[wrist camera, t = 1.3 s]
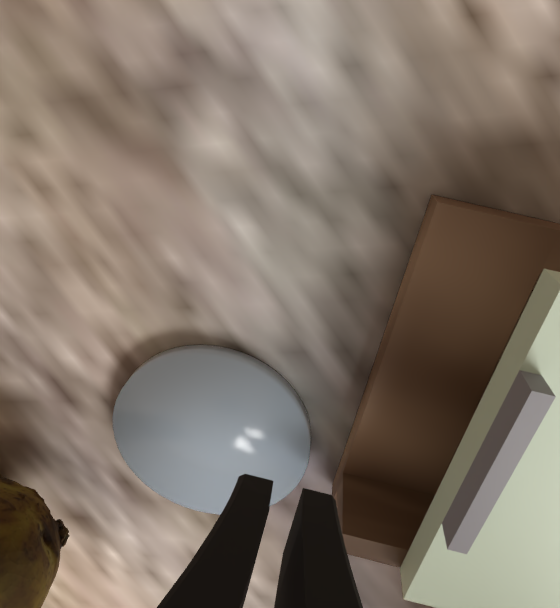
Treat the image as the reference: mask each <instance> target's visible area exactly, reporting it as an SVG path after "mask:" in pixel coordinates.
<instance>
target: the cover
mask: <svg viewBox="0 0 560 608" xmlns="http://www.w3.org/2000/svg"><path fill="white" fill-rule="evenodd" d="M400 574H401V584H402V593H403V600H407V601H411V602H415V603H419V604H423V605H427V606H431V607H435V608H560V272H557V271H553V270H548V269H543V271H542V273H541V275H540V278H539V280H538V282H537V284H536V286H535V288H534V290H533V292H532V294H531V296H530V298H529V300H528V303H527V305H526V307H525V309H524V311H523V313H522V315H521V317H520V319H519V321H518V323H517V325H516V328H515V330H514V332H513V334H512V336H511V338H510V340H509V342H508V344H507V346H506V348H505V350H504V353H503V355H502V357H501V359H500V361H499V363H498V365H497V367H496V369H495V371H494V373H493V376H492V378H491V380H490V382H489V384H488V386H487V388H486V390H485V392H484V394H483V396H482V398H481V401H480V403H479V405H478V407H477V409H476V411H475V413H474V415H473V417H472V419H471V421H470V423H469V426H468V428H467V430H466V432H465V434H464V436H463V438H462V440H461V442H460V444H459V446H458V448H457V451H456V453H455V455H454V457H453V459H452V461H451V463H450V465H449V467H448V469H447V471H446V473H445V476H444V478H443V480H442V482H441V484H440V486H439V488H438V490H437V492H436V494H435V496H434V499H433V501H432V503H431V505H430V507H429V509H428V511H427V513H426V515H425V517H424V519H423V521H422V524H421V526H420V528H419V530H418V532H417V534H416V536H415V538H414V540H413V542H412V544H411V546H410V549H409V551H408V553H407V555H406V557H405V559H404V561H403V563H402V565H401V567H400Z"/></svg>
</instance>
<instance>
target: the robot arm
mask: <svg viewBox="0 0 560 608" xmlns="http://www.w3.org/2000/svg"><path fill="white" fill-rule="evenodd" d="M272 487H273V481H272V480H269V479H265V478H261V477H257V476H253V475H249V474H243V475H241V476H239V477H238V480H237V483H236V485H235V488H234V490H233V492H232V494H231V496H230V498H229V500H228V502H227V504H226V506H225V508H224V510H223V512H222V513H221V515H220V517H219V518H218V520H217V522H216V523H215V525H214V527H213V529H212V530H211V532H210V533H209V535H208V536H207V538H206V539H205V541H204V542H203V544H202V545H201V547H200V548H199V550H198V552H197V553H196V555H195V556H194V558H193V559H192V561H191V562H190V563H189V565H188V566H187V568H186V569H185V570H184V572H183V573H182V575H181V576H180V577H179V579H178V580H177V581H176V583H175V584H174V585H173V587H172V588H171V589H170V591H169V592H168V593H167V595H166V596H165V597H164V599H163V600H162V601H161V603H160V604H159V605H158V607H157V608H243V604H244V601H245V597H246V594H247V590H248V586H249V583H250V579H251V575H252V572H253V568H254V564H255V560H256V557H257V553H258V549H259V546H260V542H261V538H262V534H263V531H264V527H265V523H266V520H267V516H268V512H269V506H270V500H271V494H272ZM274 608H363V606H362V603H361V600H360V597H359V593H358V590H357V587H356V584H355V581H354V577H353V574H352V570H351V567H350V563H349V559H348V555H347V551H346V548H345V544H344V540H343V535H342V531H341V526H340V522H339V517H338V511H337V506H336V500H335V499H334V498H333V496H332V495H328V494H324V493H320V492H316V491H312V490H308V489H304V488H303V490H302V493H301V497H300V500H299V503H298V507H297V510H296V513H295V516H294V520H293V523H292V526H291V529H290V533H289V536H288V539H287V543H286V546H285V549H284V552H283V557H282V563H281V569H280V575H279V581H278V587H277V594H276V600H275V606H274Z"/></svg>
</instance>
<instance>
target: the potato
mask: <svg viewBox="0 0 560 608" xmlns="http://www.w3.org/2000/svg"><path fill="white" fill-rule="evenodd" d="M68 533H69V531H68V529H67V528H66V527H65V526H64V524H63V521H61V520H60V519H58V520H57V521H55V520H54V519H53V517H52V515H51V514H50V510H49V509H48V507H47V506H46V504H45V502H44V499H43V498H41V497H40V496H39V494H38V493H37V492H36V490H34V489H31V488H29V487H24V486H22V485H20V484H19V483H17V482H15V481H12V480H9V479H6V478H3V477H0V608H41V606H42V604H43V602H44V600H45V598H46V596H47V594H48V592H49V589H50V587H51V585H52V583H53V581H54V578H55V576H56V573H57V570H58V567H59V561H60V549H61V547H63V546H64V545H65V544H66V541H67V539H68V537H69V534H68Z"/></svg>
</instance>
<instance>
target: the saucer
mask: <svg viewBox="0 0 560 608" xmlns="http://www.w3.org/2000/svg"><path fill="white" fill-rule="evenodd" d="M113 431H114V436H115V440H116V443H117V446H118V449H119V451H120V453H121V455H122V457H123V458H124V460H125V461H126V463H127V465H128V466H129V467H130V469H131V470H132V471H133V472H134V473H135V475H136V476H137V477H138V478H139V479H140V480H141V481H142V482H143V483H145V484H146V485H147V486H148V487H150V488H151V489H152V490H153V491H155V492H156V493H158V494H159V495H161V496H163V497H164V498H166V499H168V500H170V501H172V502H174V503H176V504H179V505H181V506H184V507H186V508H190V509H193V510H196V511H200V512H205V513H211V514H220V515H221V513H222V512H223V510H224V508H225V506H226V504H227V502H228V500H229V498H230V496H231V494H232V492H233V490H234V488H235V485H236V483H237V480H238V477H239V476H241V475H243V474H249V475H253V476H257V477H261V478H265V479H269V480H272V481H273V487H272V494H271V500H270V506H271V505H273V504H275V503H277V502H278V501H280V500H282V499H283V498H285V497H286V496H287V495H288V494H289V493H290V492H292V491H293V489H294V488H295V487H296V486H297V485H298V483H299V482H300V480H301V479H302V477H303V475H304V473H305V470H306V468H307V465H308V460H309V455H310V445H311V429H310V422H309V418H308V415H307V412H306V409H305V407H304V405H303V403H302V401H301V399H300V398H299V396H298V395H297V393H296V391H295V390H294V389H293V388H292V387H291V385H290V384H289V383H288V382H287V381H286V380H285V379H284V378H283V377H282V376H281V375H280V374H279V373H278V372H276V371H275V370H273V369H272V368H271V367H269V366H268V365H267V364H265V363H263V362H261V361H259V360H258V359H256V358H254V357H252V356H249V355H247V354H245V353H242V352H239V351H236V350H233V349H229V348H225V347H219V346H212V345H187V346H182V347H176V348H173V349H169V350H166V351H163V352H161V353H159V354H157V355H155V356H153V357H151V358H150V359H148V360H147V361H145V362H144V363H143V364H142V365H141V366H140V367H139V368H137V369H136V371H135V372H134V373H133V374H132V376H131V377H130V378H129V380H128V381H127V382H126V384H125V385H124V386H123V388H122V389H121V391H120V393H119V395H118V397H117V400H116V403H115V406H114V411H113Z"/></svg>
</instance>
